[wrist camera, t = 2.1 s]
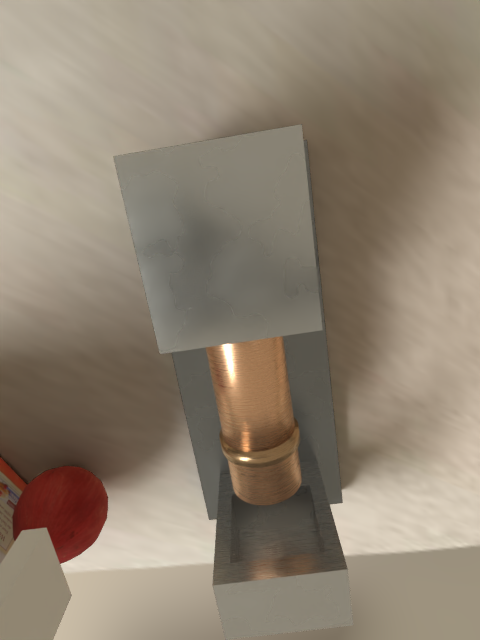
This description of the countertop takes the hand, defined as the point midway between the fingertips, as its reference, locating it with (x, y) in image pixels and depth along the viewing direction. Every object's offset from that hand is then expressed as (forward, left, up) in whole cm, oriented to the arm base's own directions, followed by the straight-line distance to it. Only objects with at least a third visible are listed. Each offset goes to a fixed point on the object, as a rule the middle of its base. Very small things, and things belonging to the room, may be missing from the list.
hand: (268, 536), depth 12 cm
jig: (0, -1, -16) cm, 16 cm away
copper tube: (0, +3, -12) cm, 13 cm away
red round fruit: (-14, -9, -17) cm, 24 cm away
